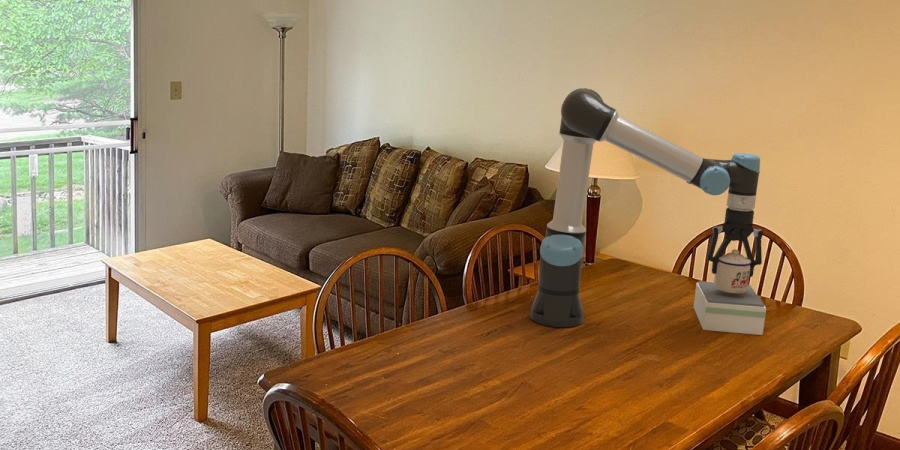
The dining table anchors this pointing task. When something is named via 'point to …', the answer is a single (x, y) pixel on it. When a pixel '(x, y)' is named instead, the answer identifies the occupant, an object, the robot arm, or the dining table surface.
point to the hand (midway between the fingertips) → (730, 285)
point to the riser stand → (729, 310)
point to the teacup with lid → (733, 272)
